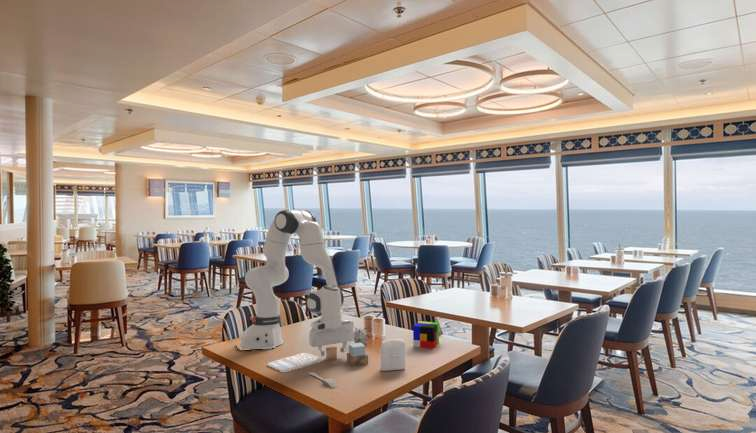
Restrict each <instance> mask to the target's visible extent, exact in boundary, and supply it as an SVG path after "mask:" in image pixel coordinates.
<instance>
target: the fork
mask: <svg viewBox="0 0 756 433" xmlns="http://www.w3.org/2000/svg"><path fill="white" fill-rule="evenodd" d="M307 374H308V375H310V376H313V377H314V378H317V379H318V380H321V381H325V382H327V384H328V385H329V386H330V387H331V389H332V390H334V389H336V388H338V386H337V384H336V382H335V380H334V379H333V378H325V379H324V378H322V377H321V376H319V375H318V374H317V373H316V372H314V371H313V372H308V373H307Z"/></svg>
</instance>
